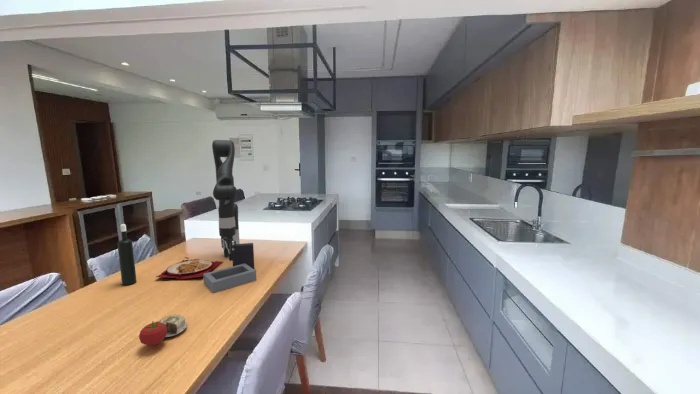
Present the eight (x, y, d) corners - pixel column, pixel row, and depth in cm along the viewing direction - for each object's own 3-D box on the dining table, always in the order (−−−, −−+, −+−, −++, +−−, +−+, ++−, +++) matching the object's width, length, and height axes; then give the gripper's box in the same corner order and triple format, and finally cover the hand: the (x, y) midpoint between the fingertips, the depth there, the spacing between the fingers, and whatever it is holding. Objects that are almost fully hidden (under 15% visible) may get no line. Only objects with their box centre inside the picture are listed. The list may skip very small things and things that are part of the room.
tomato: (173, 335, 102) (171, 315, 101) (159, 350, 94) (156, 328, 93) (150, 335, 102) (148, 315, 101) (134, 350, 94) (131, 328, 93)
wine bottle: (128, 285, 141) (122, 225, 137) (119, 284, 142) (112, 225, 138) (139, 280, 147) (133, 223, 143) (130, 279, 148) (123, 222, 144)
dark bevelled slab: (254, 267, 164) (253, 242, 162) (254, 270, 160) (252, 244, 158) (233, 269, 161) (232, 243, 159) (232, 272, 157) (231, 246, 155)
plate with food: (155, 280, 147) (154, 273, 147) (183, 262, 173) (183, 256, 172) (201, 279, 147) (200, 273, 147) (223, 261, 173) (222, 256, 172)
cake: (159, 325, 109) (157, 311, 108) (189, 319, 112) (188, 306, 111) (151, 340, 99) (150, 326, 99) (184, 334, 103) (183, 320, 102)
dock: (204, 283, 144) (203, 273, 143) (245, 272, 158) (244, 263, 157) (213, 292, 134) (212, 282, 133) (256, 280, 148) (256, 270, 147)
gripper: (214, 224, 145) (216, 256, 147) (224, 229, 134) (226, 264, 136) (229, 222, 150) (231, 253, 152) (240, 227, 139) (242, 260, 141)
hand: (229, 258), depth 144 cm, fingers open, 6 cm apart
